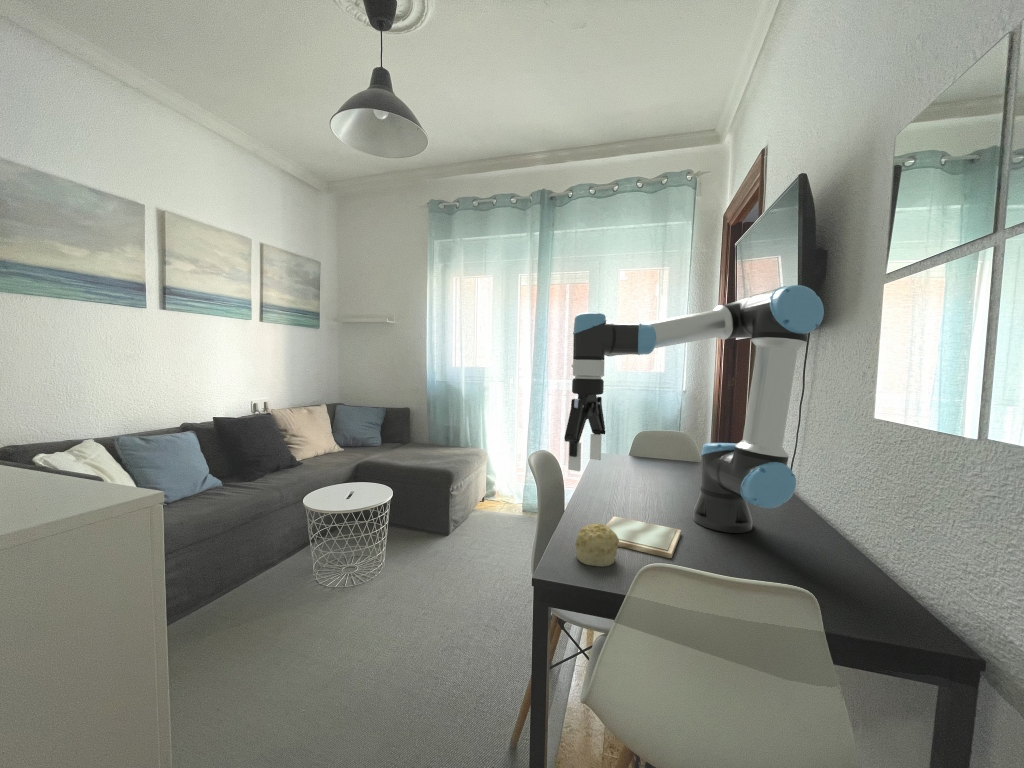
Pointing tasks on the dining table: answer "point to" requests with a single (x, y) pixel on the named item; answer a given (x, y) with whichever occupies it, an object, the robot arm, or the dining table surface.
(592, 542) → the decorative item
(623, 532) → the board
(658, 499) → the dining table surface
